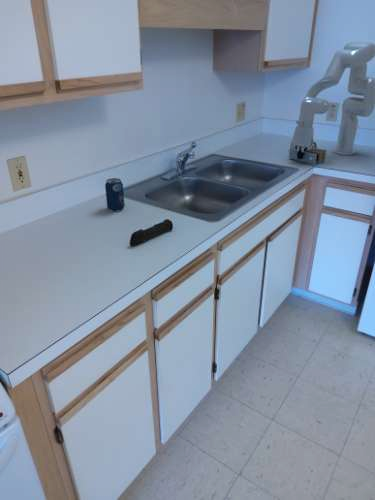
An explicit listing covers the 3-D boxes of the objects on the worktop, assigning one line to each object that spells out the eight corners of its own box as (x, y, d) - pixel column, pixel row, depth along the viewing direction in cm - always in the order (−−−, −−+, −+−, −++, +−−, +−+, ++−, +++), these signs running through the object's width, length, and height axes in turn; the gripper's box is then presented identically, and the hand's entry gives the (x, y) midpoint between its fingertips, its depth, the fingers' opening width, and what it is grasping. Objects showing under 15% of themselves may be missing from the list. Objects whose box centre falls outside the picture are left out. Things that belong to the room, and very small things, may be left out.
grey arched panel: (318, 153, 233) (319, 138, 226) (315, 157, 231) (315, 143, 224) (292, 149, 242) (292, 134, 235) (289, 153, 240) (288, 138, 233)
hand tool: (165, 227, 143) (165, 215, 141) (173, 230, 141) (173, 219, 139) (125, 245, 131) (124, 232, 129) (132, 248, 129) (132, 236, 126)
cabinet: (296, 155, 229) (297, 145, 226) (324, 160, 220) (326, 150, 217) (290, 158, 223) (291, 148, 220) (319, 164, 214) (321, 152, 211)
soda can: (125, 211, 155) (123, 182, 149) (107, 212, 154) (104, 184, 148) (124, 205, 161) (122, 177, 155) (107, 206, 160) (104, 178, 154)
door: (289, 157, 223) (290, 148, 220) (315, 164, 211) (316, 154, 209) (287, 158, 222) (288, 148, 219) (312, 164, 210) (314, 155, 208)
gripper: (289, 123, 207) (284, 157, 216) (316, 127, 199) (310, 162, 208) (294, 121, 212) (289, 155, 221) (321, 125, 204) (315, 159, 213)
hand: (299, 158), depth 214 cm, fingers closed
